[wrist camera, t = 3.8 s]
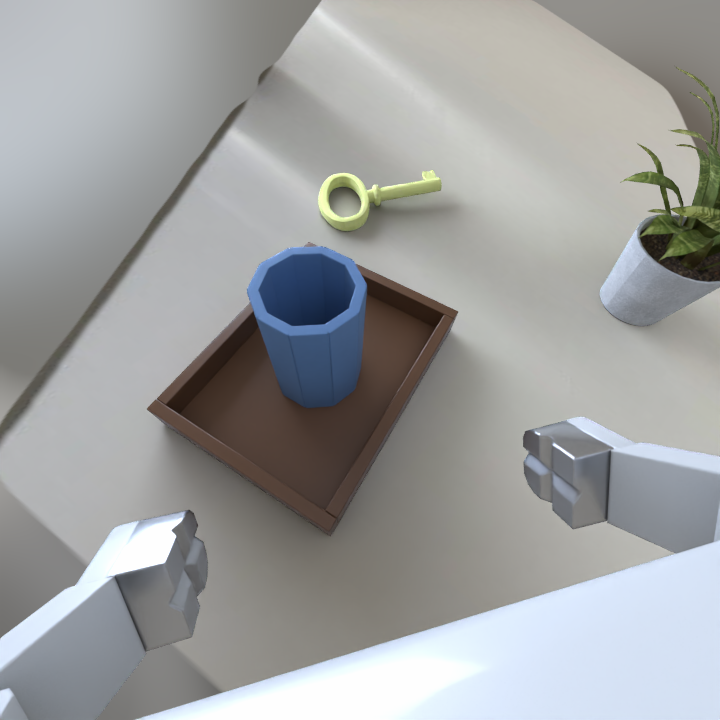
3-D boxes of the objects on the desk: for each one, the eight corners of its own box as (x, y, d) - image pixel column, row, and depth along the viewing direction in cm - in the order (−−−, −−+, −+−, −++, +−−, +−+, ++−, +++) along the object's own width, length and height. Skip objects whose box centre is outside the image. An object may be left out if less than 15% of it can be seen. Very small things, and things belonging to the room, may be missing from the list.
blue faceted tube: (331, 423, 25) (325, 356, 17) (258, 380, 27) (222, 300, 19) (375, 358, 28) (387, 275, 20) (306, 322, 29) (292, 231, 21)
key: (444, 199, 38) (448, 180, 36) (336, 238, 35) (336, 219, 33) (406, 161, 41) (409, 142, 39) (304, 194, 38) (302, 174, 36)
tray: (330, 536, 22) (328, 532, 20) (163, 422, 25) (146, 408, 23) (450, 330, 30) (458, 311, 28) (310, 263, 33) (308, 241, 31)
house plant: (543, 221, 37) (666, 2, 23) (690, 250, 36) (917, 36, 21) (541, 336, 30) (715, 124, 16) (724, 377, 29) (1093, 185, 14)
